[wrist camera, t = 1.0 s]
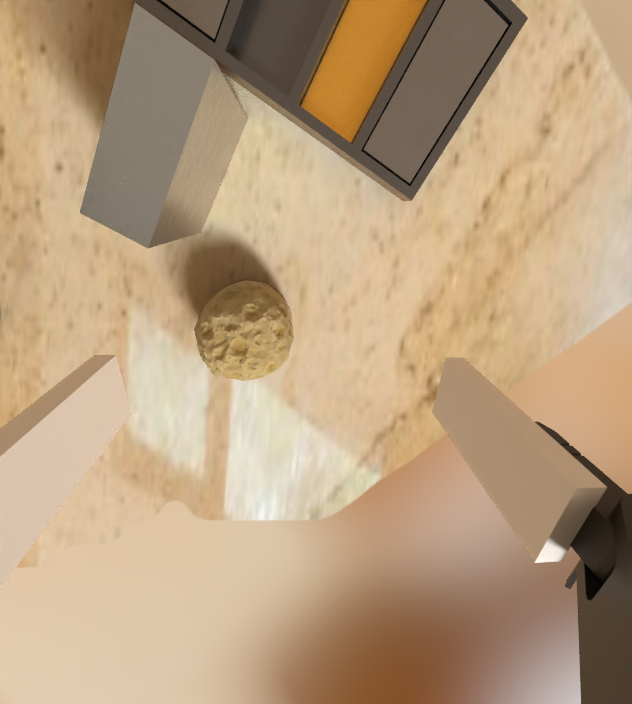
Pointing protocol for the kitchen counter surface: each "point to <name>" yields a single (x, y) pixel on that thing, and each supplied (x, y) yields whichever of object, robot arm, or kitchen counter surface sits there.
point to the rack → (358, 69)
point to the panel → (162, 137)
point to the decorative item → (245, 331)
